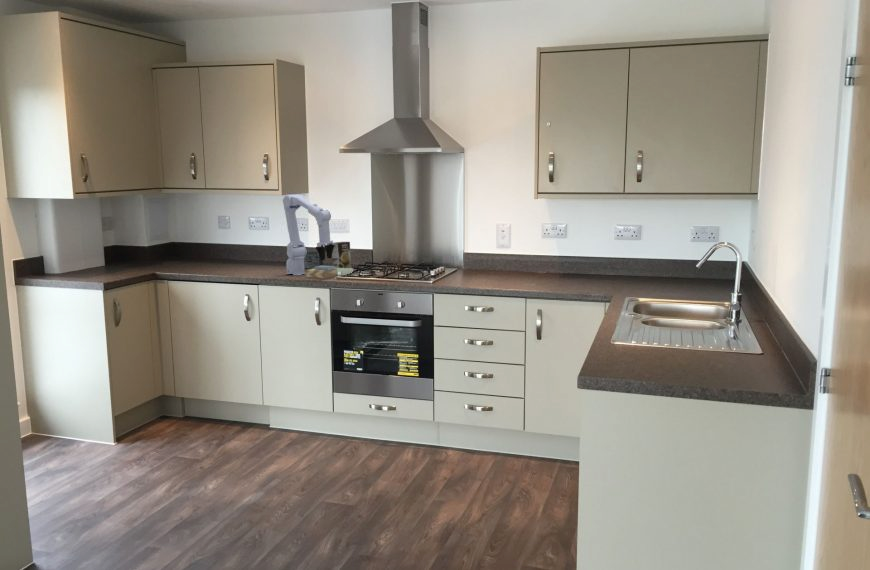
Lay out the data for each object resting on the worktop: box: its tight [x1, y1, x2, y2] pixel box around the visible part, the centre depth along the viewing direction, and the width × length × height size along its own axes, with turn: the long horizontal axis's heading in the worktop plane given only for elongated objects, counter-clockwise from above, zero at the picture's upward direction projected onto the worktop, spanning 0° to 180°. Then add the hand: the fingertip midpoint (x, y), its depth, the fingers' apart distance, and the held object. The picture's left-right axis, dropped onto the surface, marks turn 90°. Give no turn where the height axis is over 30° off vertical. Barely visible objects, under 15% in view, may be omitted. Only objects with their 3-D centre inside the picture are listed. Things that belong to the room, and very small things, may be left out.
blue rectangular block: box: [314, 265, 335, 270], centre depth 391 cm, size 9×6×2 cm, turn 61°
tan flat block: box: [305, 268, 338, 279], centre depth 393 cm, size 13×11×4 cm
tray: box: [337, 267, 355, 277], centre depth 401 cm, size 14×11×2 cm
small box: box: [304, 250, 325, 270], centre depth 426 cm, size 11×6×10 cm, turn 80°
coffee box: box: [331, 241, 352, 268], centre depth 414 cm, size 9×6×16 cm
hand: (326, 259), depth 386 cm, fingers open, 7 cm apart
